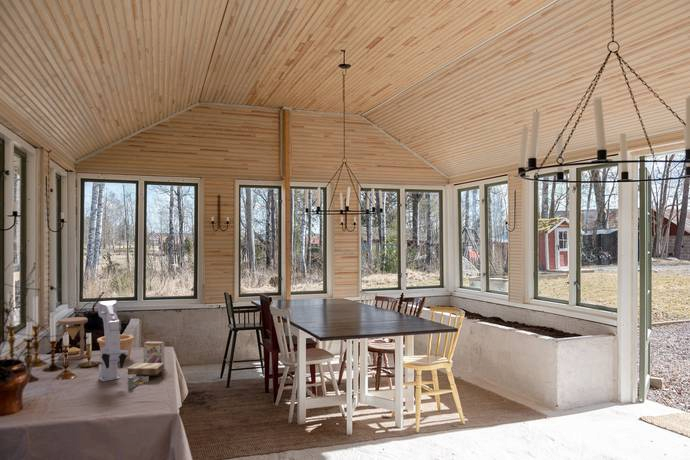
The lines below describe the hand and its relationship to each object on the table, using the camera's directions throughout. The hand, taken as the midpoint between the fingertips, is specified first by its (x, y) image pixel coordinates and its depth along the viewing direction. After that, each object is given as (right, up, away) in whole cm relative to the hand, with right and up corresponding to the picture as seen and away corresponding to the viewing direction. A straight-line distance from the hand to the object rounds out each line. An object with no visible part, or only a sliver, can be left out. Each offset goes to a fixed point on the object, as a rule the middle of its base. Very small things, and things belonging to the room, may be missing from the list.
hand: (114, 368), depth 300 cm
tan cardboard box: (+12, -9, +14) cm, 21 cm away
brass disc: (+12, -10, +4) cm, 16 cm away
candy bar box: (+10, -9, +33) cm, 36 cm away
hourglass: (-55, -10, +67) cm, 87 cm away
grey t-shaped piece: (+11, -9, 0) cm, 15 cm away
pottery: (-23, -9, +58) cm, 63 cm away
